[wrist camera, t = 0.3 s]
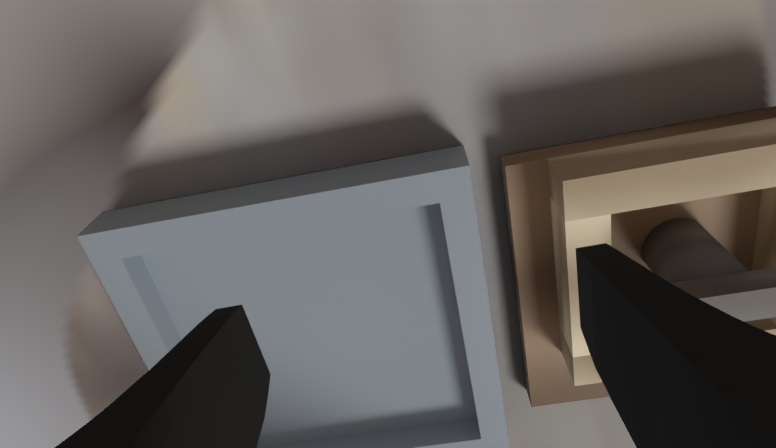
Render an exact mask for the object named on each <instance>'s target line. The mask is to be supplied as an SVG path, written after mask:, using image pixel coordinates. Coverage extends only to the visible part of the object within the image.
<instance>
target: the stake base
mask: <svg viewBox="0 0 776 448" xmlns="http://www.w3.org/2000/svg"><path fill="white" fill-rule="evenodd" d="M772 118H776V106H775V107H769V108H764V109H758V110H753V111H747V112H742V113H736V114H731V115H725V116H720V117H714V118H709V119H703V120H698V121H692V122H687V123H681V124H676V125H670V126H665V127H659V128H653V129H648V130H642V131H637V132H631V133H626V134H620V135H615V136H609V137H604V138H598V139H593V140H587V141H582V142H576V143H571V144H565V145H560V146H554V147H549V148H543V149H538V150H532V151H527V152H521V153H516V154H510V155H505V156H500V157H501V166H502V175H503V184H504V193H505V202H506V210H507V219H508V228H509V237H510V246H511V254H512V263H513V272H514V281H515V290H516V299H517V307H518V316H519V325H520V334H521V343H522V351H523V360H524V369H525V378H526V387H527V393H528V396H529V400H530V403H531V407H533V406H541V405H548V404H556V403H563V402H571V401H579V400H586V399H594V398H601V397H609V394H608V392H607V390H606V388H605V386H604V384H603V382H601V383H594V384H587V385H579V386H574V383H573V381H572V378H571V376H570V373H569V371H568V368H567V365H566V363H565V360H564V358H563V355H562V353H561V341H560V327H559V313H558V299H557V285H556V271H555V257H554V243H553V229H552V215H551V201H550V186H549V172H548V159H549V158H554V157H560V156H566V155H571V154H577V153H582V152H588V151H593V150H599V149H605V148H610V147H616V146H621V145H627V144H632V143H638V142H644V141H649V140H655V139H660V138H666V137H672V136H677V135H683V134H688V133H694V132H699V131H705V130H711V129H716V128H722V127H727V126H733V125H738V124H744V123H750V122H755V121H761V120H766V119H772ZM761 193H762V189H759V190H753V191H747V192H741V193H735V194H729V195H723V196H717V197H711V198H705V199H699V200H693V201H687V202H681V203H675V204H669V205H663V206H657V207H651V208H645V209H639V210H633V211H627V212H621V213H615V214H611V246H612V247H613V248H615V249H617V250H618V251H620V252H621V253H623V254H625V255H626V256H628V257H629V258H631V259H632V260H634V261H636V262H637V263H639V264H640V265H642V266H644V267H645V268H647V269H648V270H650V271H652V272H653V273H655V274H656V275H658V276H660V277H661V278H663V279H665V280H666V281H668V282H670V283H671V284H673V285H675V286H677V287H678V288H680V289H682V290H684V291H685V292H687V293H689V294H691V295H693V296H694V297H696V298H698V299H700V300H702V301H704V302H706V303H707V304H709V305H711V306H713V307H715V308H717V309H719V310H721V311H723V312H725V313H727V314H729V315H731V316H733V317H735V318H737V319H739V320H741V321H744V322H745V321H752V320H759V319H766V318H773V317H776V270H775V269H774V268H766V269H760V270H753V271H752V264H753V256H754V248H755V240H756V232H757V224H758V216H759V208H760V201H761Z"/></svg>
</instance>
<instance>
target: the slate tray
mask: <svg viewBox="0 0 776 448" xmlns="http://www.w3.org/2000/svg"><path fill="white" fill-rule="evenodd" d="M77 238H78V240H79V241H80V243H81V245H82V247H83V249H84V251H85V253H86V255H87V257H88V258H89V260H90V262H91V264H92V266H93V268H94V270H95V272H96V273H97V275H98V277H99V279H100V281H101V283H102V285H103V287H104V288H105V290H106V292H107V294H108V296H109V298H110V300H111V301H112V303H113V305H114V307H115V309H116V311H117V313H118V315H119V316H120V318H121V320H122V322H123V324H124V326H125V328H126V330H127V331H128V333H129V335H130V337H131V339H132V341H133V343H134V344H135V346H136V348H137V350H138V352H139V354H140V356H141V358H142V359H143V361H144V363H145V365H146V367H147V369H148V371H149V370H150V369H151V368H152V367H153V366H154V365H155V364H156V363H158V362H159V361H160V360H161V359H162V358H163V357H164V356H165V355H166V354H167V353H168V352H169V351H170V350H171V349H172V348H173V347H174V346H176V345H177V344H178V343H179V342H180V341H181V340H182V339H183V338H184V337H185V336H186V335H187V334H188V333H189V332H190V331H191V330H192V329H193V328H195V327H196V326H197V325H198V324H199V323H200V322H201V321H202V320H203V319H204V318H206V317H207V316H208V315H209V314H210V313H212V312H213V311H214V310H215V309H219V308H225V307H231V306H237V305H242V306H243V308H244V310H245V313H246V315H247V318H248V320H249V323H250V325H251V328H252V330H253V333H254V335H255V337H256V340H257V342H258V345H259V347H260V350H261V352H262V355H263V357H264V359H265V362H266V364H267V367H268V369H269V372H270V374H271V375H270V383H269V392H268V400H267V406H266V413H265V418H264V422H263V426H262V430H261V433H260V437H259V440H258V444H257V448H510V446H509V439H508V432H507V425H506V418H505V411H504V404H503V397H502V390H501V383H500V376H499V369H498V362H497V355H496V348H495V341H494V334H493V327H492V320H491V313H490V306H489V299H488V292H487V285H486V278H485V271H484V264H483V257H482V250H481V243H480V236H479V229H478V222H477V215H476V208H475V201H474V194H473V187H472V180H471V173H470V166H469V162H468V159H467V156H466V153H465V150H464V146H463V145H461V146H456V147H451V148H445V149H440V150H434V151H429V152H424V153H418V154H413V155H407V156H402V157H396V158H391V159H386V160H380V161H375V162H369V163H364V164H359V165H353V166H348V167H342V168H337V169H332V170H326V171H321V172H315V173H310V174H305V175H299V176H294V177H288V178H283V179H277V180H272V181H267V182H261V183H256V184H250V185H245V186H240V187H234V188H229V189H223V190H218V191H213V192H207V193H202V194H196V195H191V196H186V197H180V198H175V199H169V200H164V201H158V202H153V203H148V204H142V205H137V206H131V207H126V208H121V209H115V210H110V211H104V212H102V213H101V214H100V215H99V216H98V217H97V218H96V219H95V220H94V221H92V222H91V223H90V224H89V225H88V226H87V227H86V228H85V229H84V230H83V231H82V232H81V233H80V234H79V235H78V236H77Z"/></svg>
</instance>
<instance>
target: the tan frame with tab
mask: <svg viewBox="0 0 776 448" xmlns="http://www.w3.org/2000/svg"><path fill="white" fill-rule="evenodd" d="M548 172H549V186H550V201H551V215H552V229H553V243H554V257H555V271H556V285H557V299H558V313H559V327H560V341H561V353H562V355H563V358H564V360H565V363H566V365H567V368H568V371H569V373H570V376H571V378H572V381H573V383H574V386H579V385H587V384H594V383H601V382H602V380H601V378H600V376H599V374H598V372H597V370H596V368H595V365H594V363H593V360H592V358H591V355H590V352H589V350H588V347H587V344H586V341H585V338H584V336H583V333H582V330H581V327H580V312H579V296H578V280H577V264H576V248H580V247H586V246H592V245H598V244H604V243H607V244H608V245H610V246H611V214H615V213H621V212H627V211H633V210H639V209H645V208H651V207H657V206H663V205H669V204H675V203H681V202H687V201H693V200H699V199H705V198H711V197H717V196H723V195H729V194H735V193H741V192H747V191H753V190H759V189H762V193H761V201H760V208H759V216H758V224H757V232H756V240H755V248H754V256H753V264H752V271H753V270H760V269H766V268H774V269H775V270H776V118H772V119H766V120H761V121H755V122H750V123H744V124H738V125H733V126H727V127H722V128H716V129H711V130H705V131H699V132H694V133H688V134H683V135H677V136H672V137H666V138H660V139H655V140H649V141H644V142H638V143H632V144H627V145H621V146H616V147H610V148H605V149H599V150H593V151H588V152H582V153H577V154H571V155H566V156H560V157H554V158H549V159H548ZM745 322H746V323H748V324H750V325H752V326H754V327H757V328H759V329H762V330H764V331H766V332H769V333H771V334H773V335H776V317H773V318H766V319H759V320H752V321H745Z"/></svg>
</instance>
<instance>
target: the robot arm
mask: <svg viewBox="0 0 776 448" xmlns="http://www.w3.org/2000/svg"><path fill="white" fill-rule="evenodd" d="M576 264H577V280H578V296H579V312H580V327H581V330H582V333H583V336H584V338H585V341H586V344H587V347H588V350H589V352H590V355H591V358H592V360H593V363H594V365H595V368H596V370H597V372H598V374H599V376H600V378H601V380H602V382H603V384H604V386H605V388H606V390H607V392H608V394H609V396H610V397H611V399H612V401H613V403H614V405H615V407H616V409H617V411H618V413H619V415H620V417H621V418H622V420H623V422H624V424H625V426H626V428H627V430H628V432H629V434H630V436H631V438H632V439H633V441H634V443H635V445H636V447H637V448H776V335H773V334H771V333H769V332H766V331H764V330H762V329H759V328H757V327H754V326H752V325H750V324H748V323H746V322H744V321H741V320H739V319H737V318H735V317H733V316H731V315H729V314H727V313H725V312H723V311H721V310H719V309H717V308H715V307H713V306H711V305H709V304H707V303H706V302H704V301H702V300H700V299H698V298H696V297H694V296H693V295H691V294H689V293H687V292H685V291H684V290H682V289H680V288H678V287H677V286H675V285H673V284H671V283H670V282H668V281H666V280H665V279H663V278H661V277H660V276H658V275H656V274H655V273H653V272H652V271H650V270H648V269H647V268H645V267H644V266H642V265H640V264H639V263H637V262H636V261H634V260H632V259H631V258H629V257H628V256H626V255H625V254H623V253H621V252H620V251H618V250H617V249H615V248H613V247H612V246H610V245H608V244H607V243H604V244H598V245H592V246H586V247H580V248H576ZM270 375H271V374H270V372H269V369H268V367H267V364H266V362H265V359H264V357H263V355H262V352H261V350H260V347H259V345H258V342H257V340H256V337H255V335H254V333H253V330H252V328H251V325H250V323H249V320H248V318H247V315H246V313H245V310H244V308H243V306H242V305H237V306H231V307H225V308H219V309H215V310H214V311H213V312H212V313H210V314H209V315H208V316H207V317H206V318H204V319H203V320H202V321H201V322H200V323H199V324H198V325H197V326H196V327H195V328H193V329H192V330H191V331H190V332H189V333H188V334H187V335H186V336H185V337H184V338H183V339H182V340H181V341H180V342H179V343H178V344H177V345H176V346H174V347H173V348H172V349H171V350H170V351H169V352H168V353H167V354H166V355H165V356H164V357H163V358H162V359H161V360H160V361H159V362H158V363H156V364H155V365H154V366H153V367H152V368H151V369H150V370H149V371H148V372H147V373H146V374H145V375H143V376H142V377H141V378H140V379H139V380H138V381H137V382H135V383H134V384H133V385H132V386H131V387H130V388H129V389H127V390H126V391H125V392H124V393H123V394H122V395H121V396H120V397H118V398H117V399H116V400H115V401H114V402H113V403H112V404H110V405H109V406H108V407H107V408H106V409H104V410H103V411H102V412H101V413H100V414H98V415H97V416H96V417H95V418H93V419H92V420H91V421H90V422H88V423H87V424H86V425H84V426H83V427H82V428H80V429H79V430H78V431H76V432H75V433H74V434H73V435H71V436H70V437H69V438H67V439H66V440H65V441H63V442H62V443H61V444H59V445H58V446H56V447H55V448H257V444H258V440H259V437H260V433H261V430H262V426H263V422H264V418H265V413H266V406H267V400H268V392H269V383H270Z"/></svg>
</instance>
